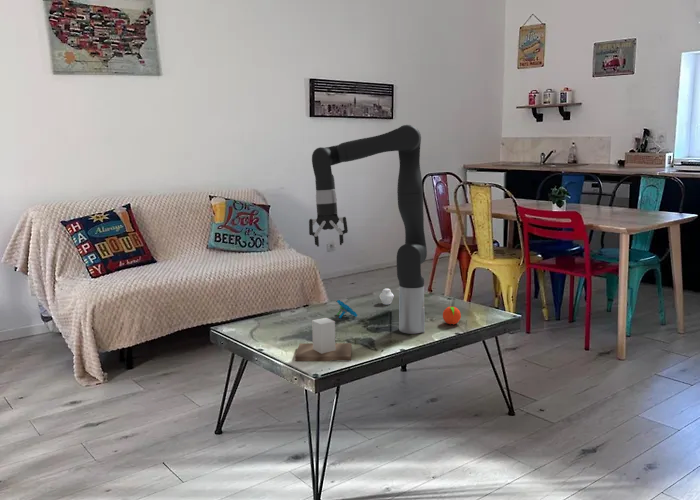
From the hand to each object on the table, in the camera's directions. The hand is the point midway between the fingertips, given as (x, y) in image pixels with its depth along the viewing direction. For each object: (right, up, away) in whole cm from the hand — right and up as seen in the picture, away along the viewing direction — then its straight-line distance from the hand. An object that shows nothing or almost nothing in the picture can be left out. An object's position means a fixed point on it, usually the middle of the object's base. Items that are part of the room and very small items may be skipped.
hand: (329, 245), depth 229 cm
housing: (-1, -35, -23) cm, 42 cm away
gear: (+6, -29, +19) cm, 35 cm away
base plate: (-1, -37, -23) cm, 43 cm away
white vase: (+24, -25, +38) cm, 52 cm away
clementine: (+47, -31, +7) cm, 56 cm away
